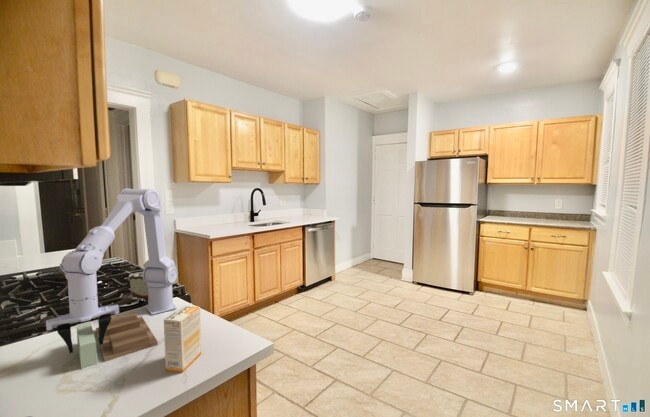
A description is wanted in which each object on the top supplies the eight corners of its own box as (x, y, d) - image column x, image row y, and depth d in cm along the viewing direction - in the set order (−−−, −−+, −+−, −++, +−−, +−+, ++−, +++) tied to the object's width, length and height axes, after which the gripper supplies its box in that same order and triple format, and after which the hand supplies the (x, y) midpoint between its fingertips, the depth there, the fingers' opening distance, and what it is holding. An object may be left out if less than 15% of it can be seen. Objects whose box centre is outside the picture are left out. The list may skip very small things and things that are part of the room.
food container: (169, 296, 117) (168, 271, 116) (159, 302, 111) (158, 276, 110) (140, 294, 118) (139, 270, 118) (128, 300, 112) (127, 274, 111)
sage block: (77, 345, 82) (76, 324, 82) (91, 341, 84) (90, 321, 84) (81, 369, 72) (80, 346, 71) (96, 364, 74) (95, 341, 73)
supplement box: (185, 351, 80) (184, 304, 79) (202, 353, 79) (201, 306, 78) (164, 370, 72) (162, 318, 70) (182, 373, 71) (181, 320, 70)
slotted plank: (95, 331, 89) (95, 321, 89) (141, 319, 98) (141, 310, 97) (104, 361, 75) (103, 350, 74) (157, 344, 83) (157, 334, 83)
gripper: (44, 309, 69) (48, 365, 70) (119, 294, 78) (122, 343, 80) (45, 300, 74) (48, 352, 75) (115, 287, 84) (118, 333, 85)
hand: (86, 347), depth 78 cm, fingers open, 5 cm apart
